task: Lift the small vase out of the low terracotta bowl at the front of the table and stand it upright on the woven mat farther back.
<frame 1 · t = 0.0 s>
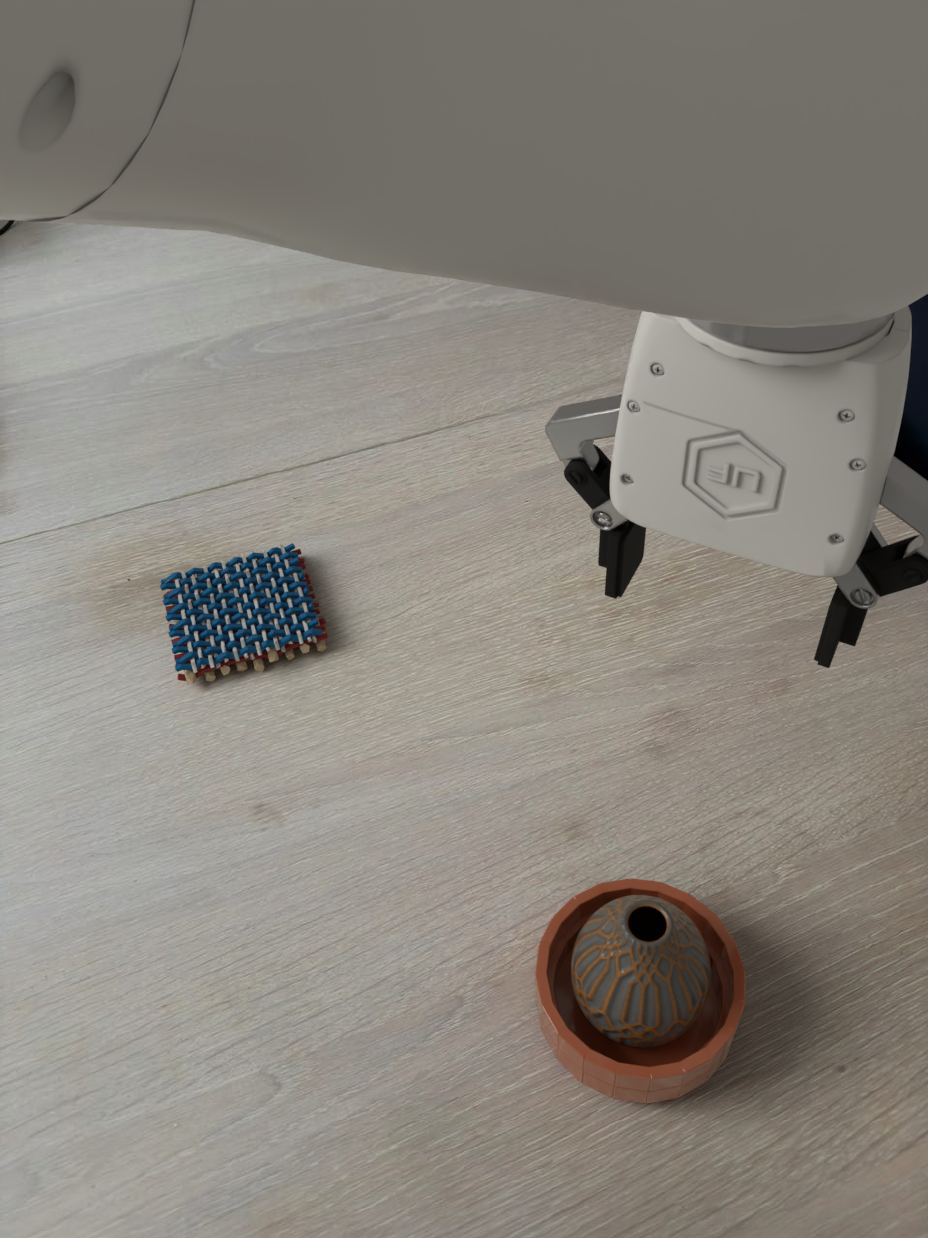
hand: (723, 609, 50), 20 cm above the table, tool pointing down, fingers open, 9 cm apart
woven mat: (246, 622, 78), on the table
vase: (635, 1001, 58), resting on bowl
bowl: (634, 1004, 58), on the table
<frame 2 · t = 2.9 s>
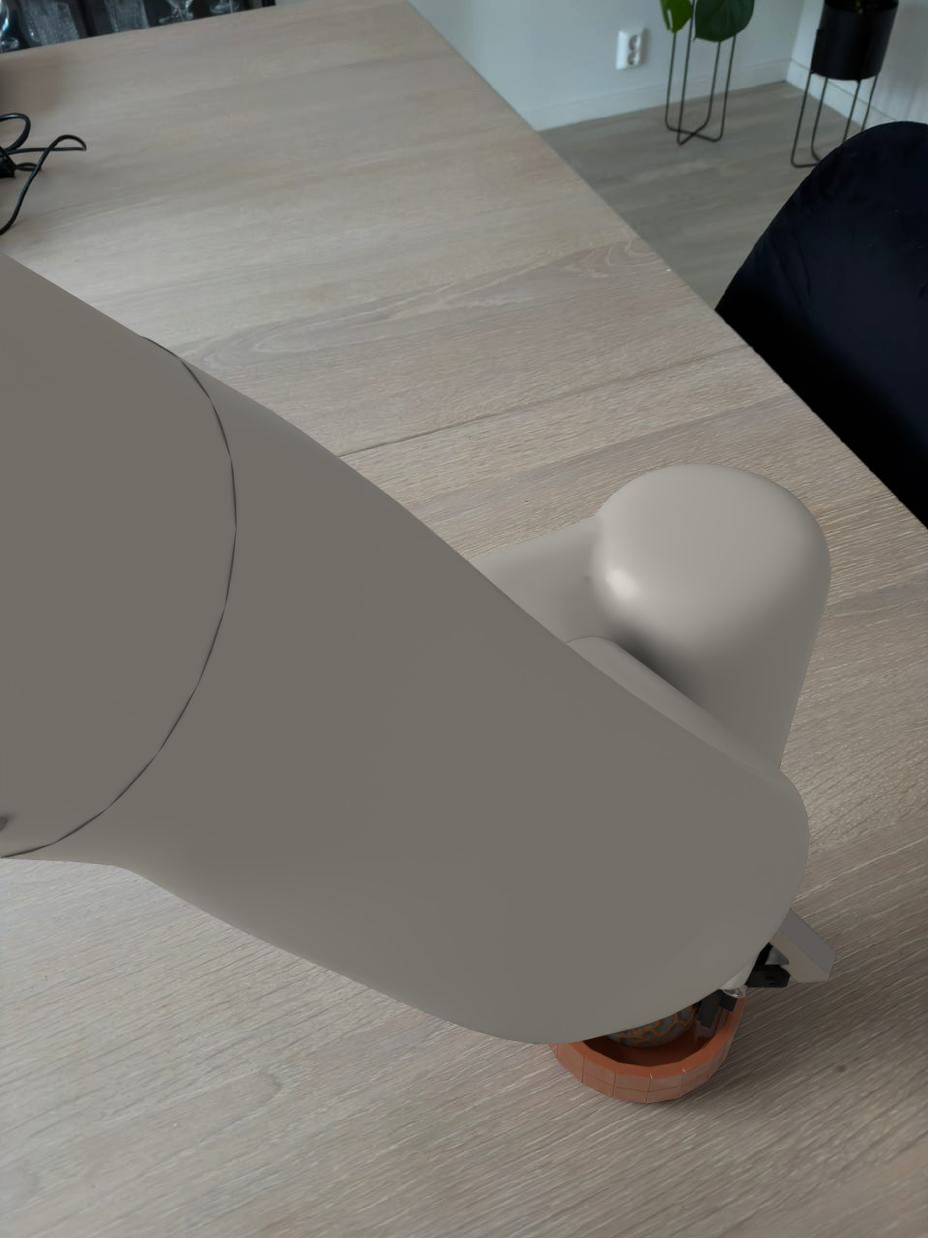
hand: (641, 965, 54), 5 cm above the table, tool pointing down, fingers closed on vase, 6 cm apart
vase: (635, 1001, 58), resting on bowl, touching gripper
everything else where it was.
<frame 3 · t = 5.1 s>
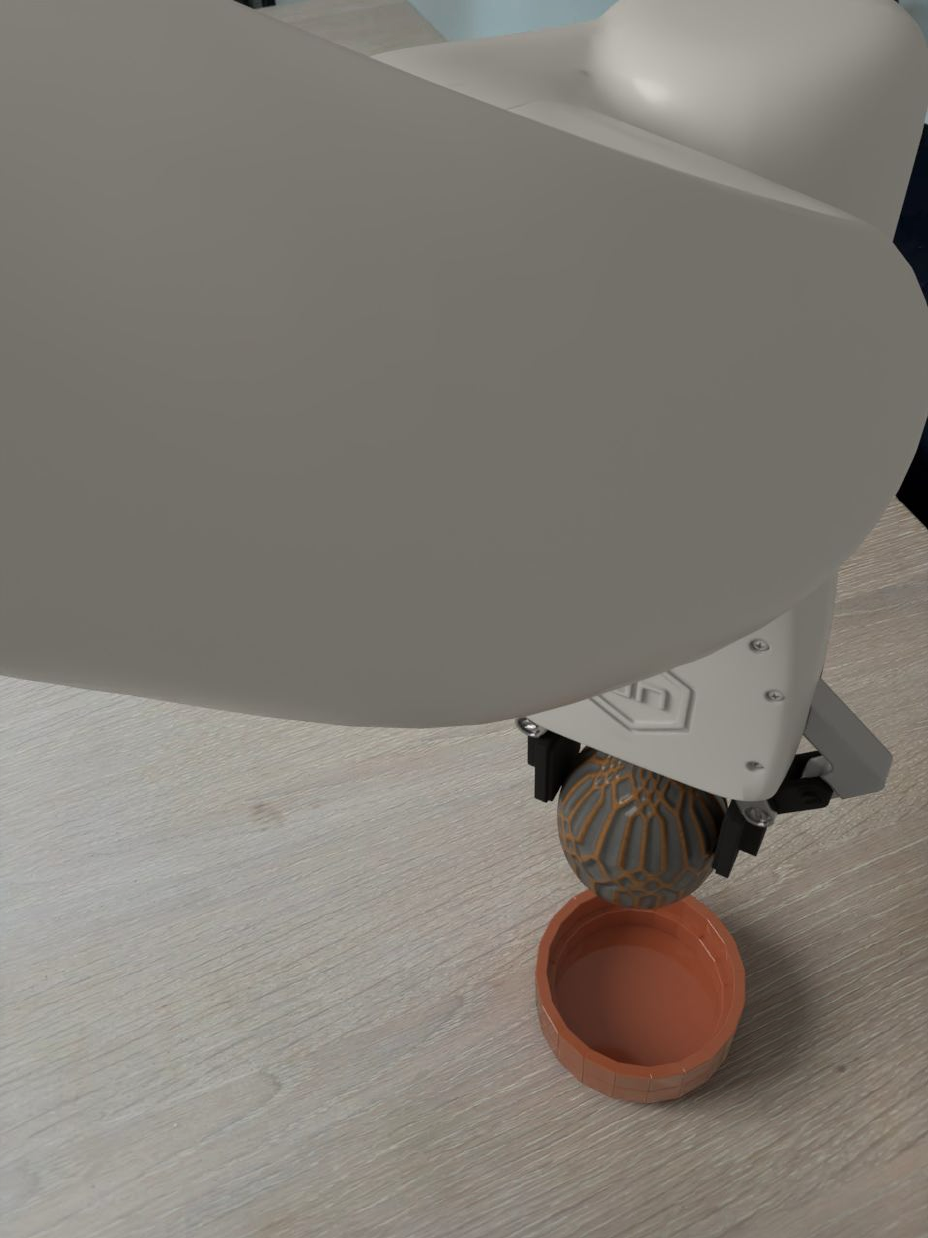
hand: (642, 808, 44), 19 cm above the table, tool pointing down, fingers closed on vase, 6 cm apart
vase: (634, 863, 48), point 14 cm above the table, touching gripper
everything else where it was.
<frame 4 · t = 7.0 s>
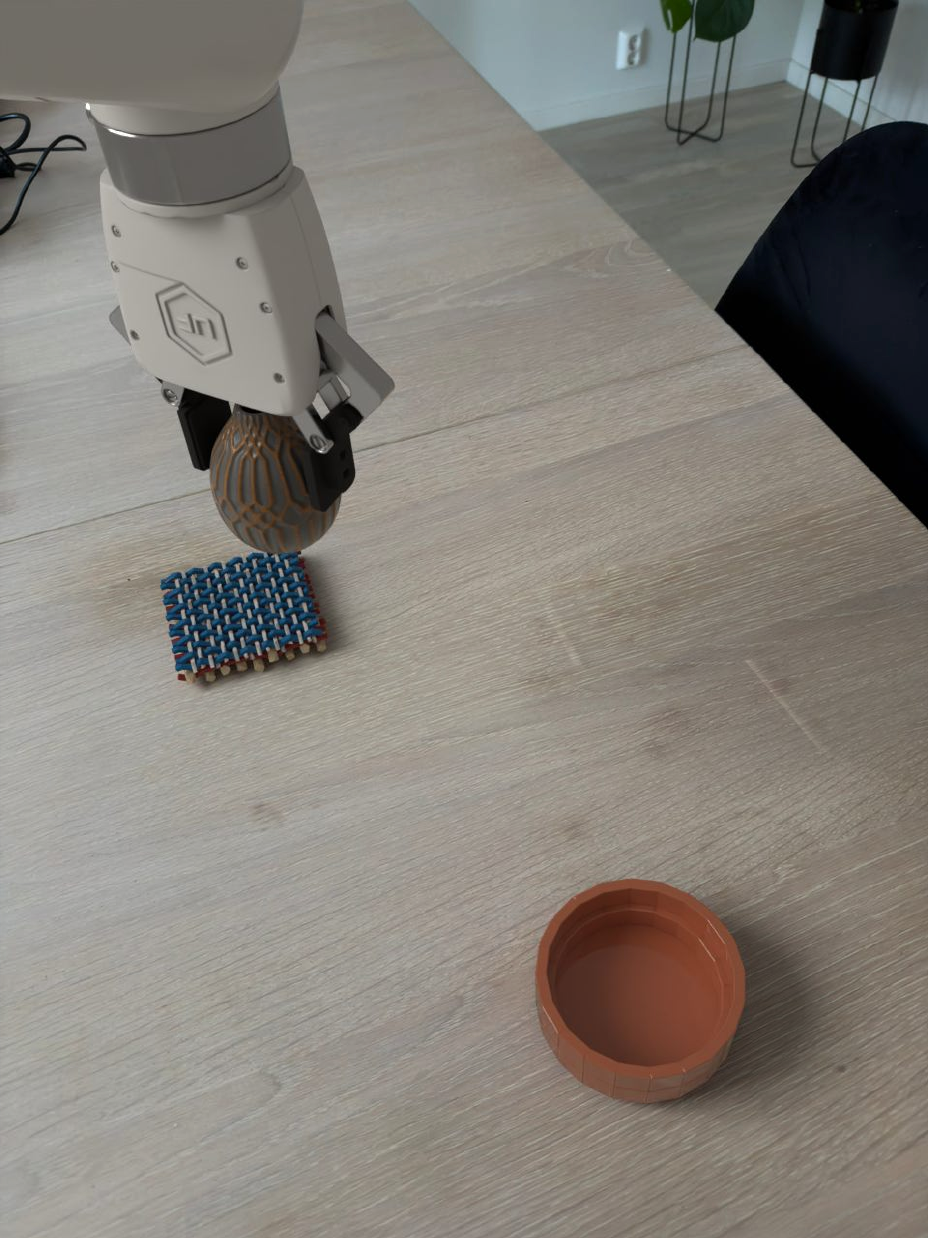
hand: (273, 472, 58), 20 cm above the table, tool pointing down, fingers closed on vase, 6 cm apart
vase: (288, 532, 61), point 15 cm above the table, touching gripper
everything else where it was.
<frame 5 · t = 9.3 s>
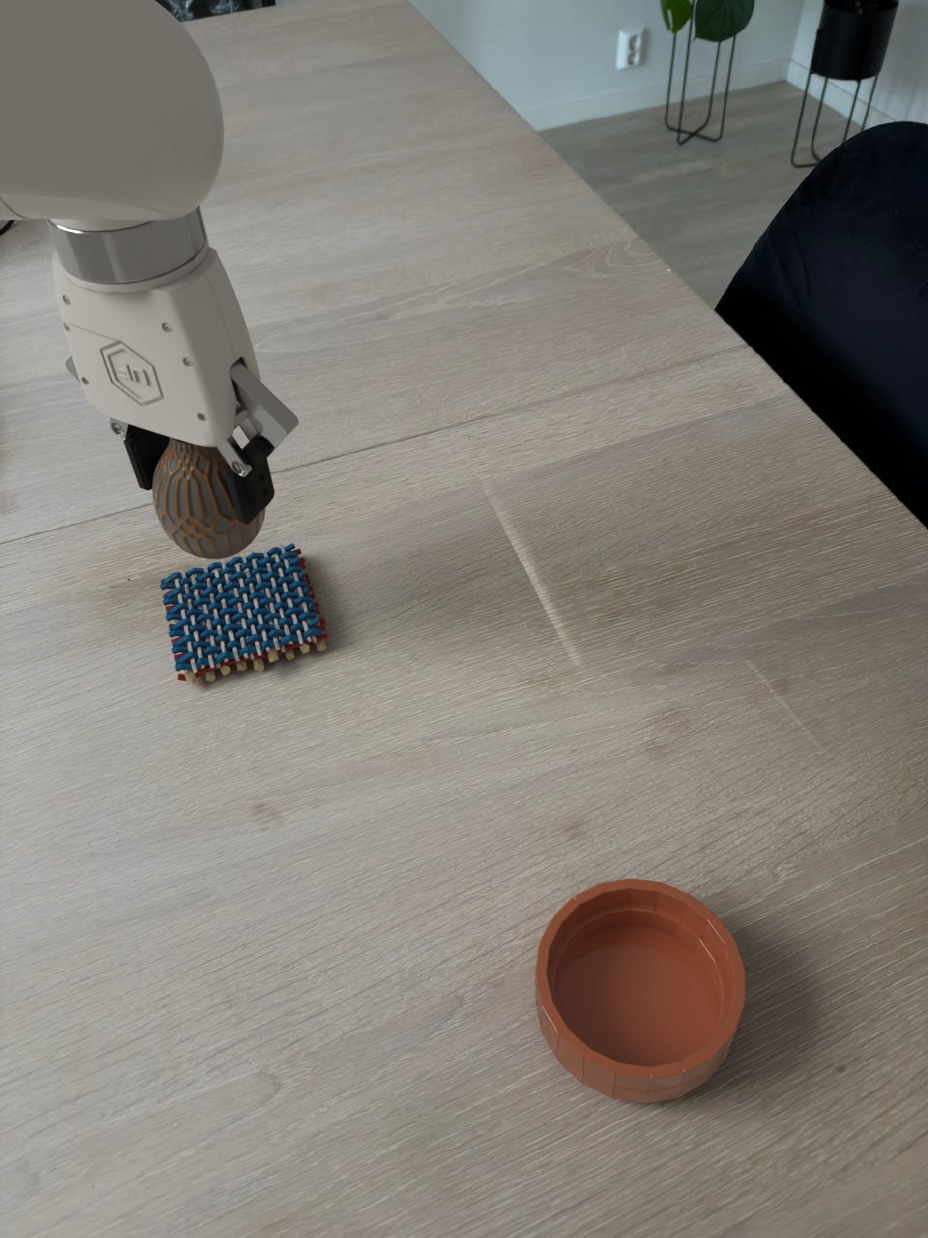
hand: (207, 491, 69), 12 cm above the table, tool pointing down, fingers closed on vase, 6 cm apart
vase: (222, 540, 72), point 8 cm above the table, touching gripper
everything else where it was.
when the fingers open (6 cm above the table, at t = 11.2 s): vase stays where it is, resting on woven mat.
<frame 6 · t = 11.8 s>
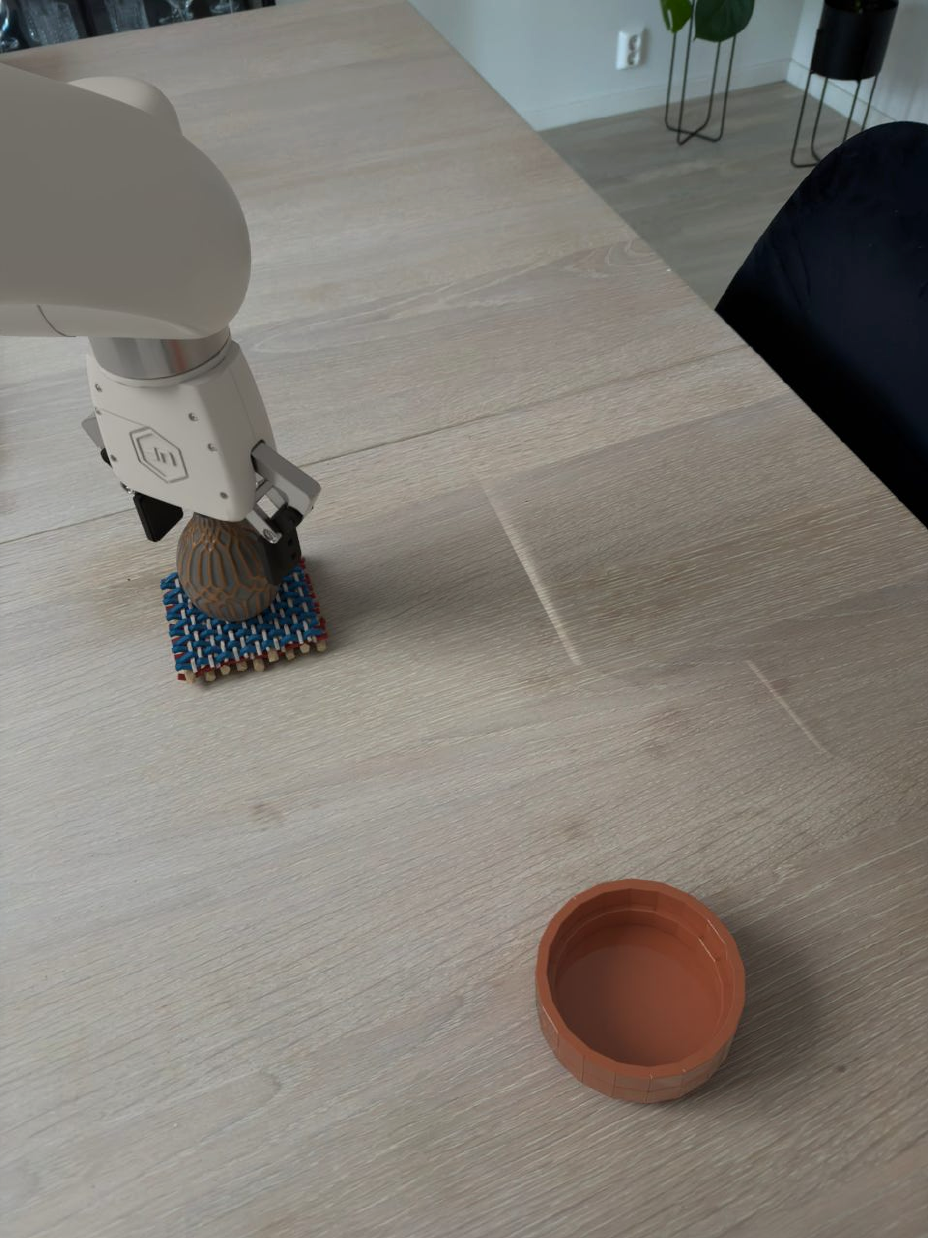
hand: (224, 549, 73), 7 cm above the table, tool pointing down, fingers open, 9 cm apart
woven mat: (246, 622, 78), on the table, touching vase
vase: (241, 602, 77), point 2 cm above the table, touching woven mat
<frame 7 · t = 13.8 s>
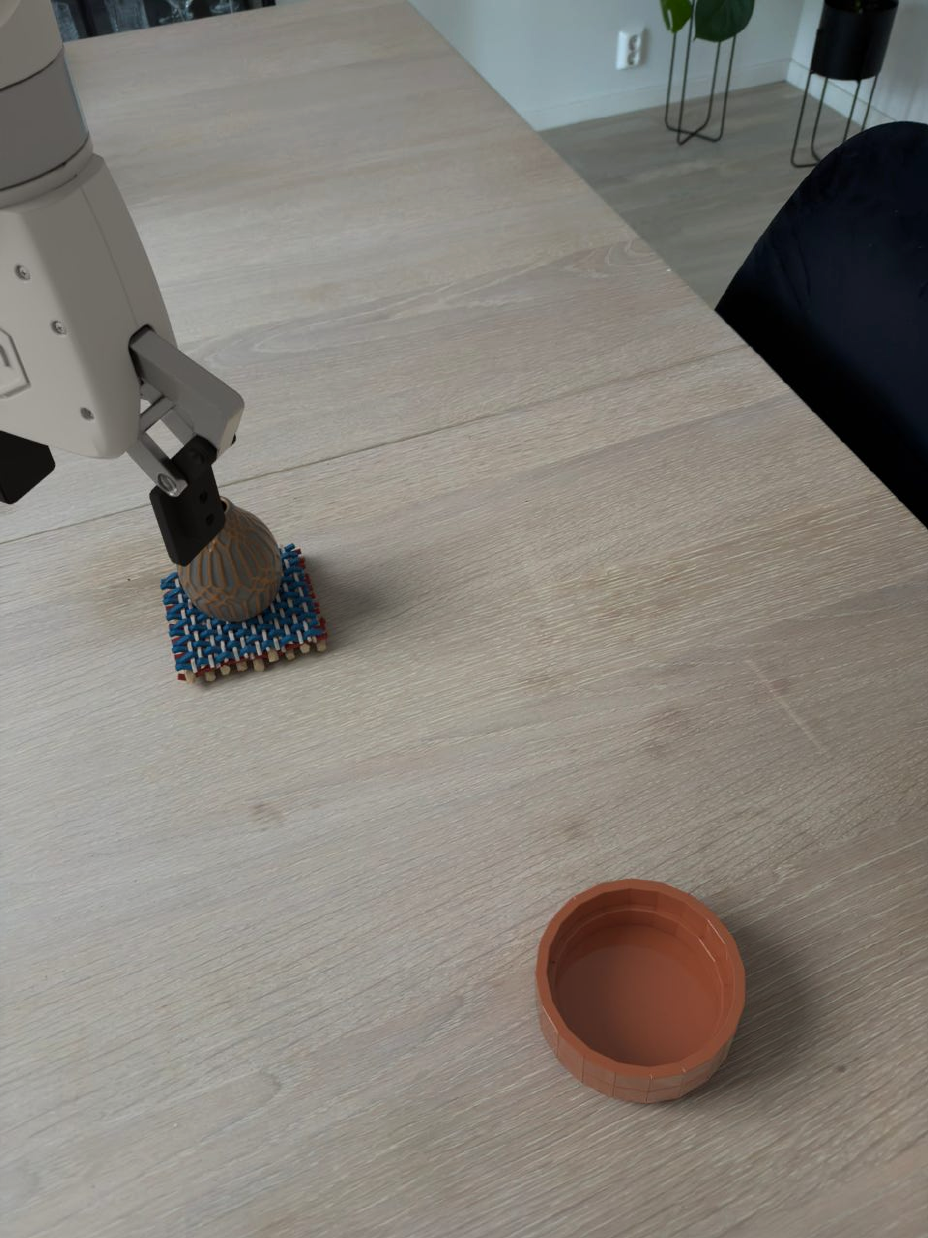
hand: (111, 514, 48), 25 cm above the table, tool pointing down, fingers open, 9 cm apart
nothing on the table moved.
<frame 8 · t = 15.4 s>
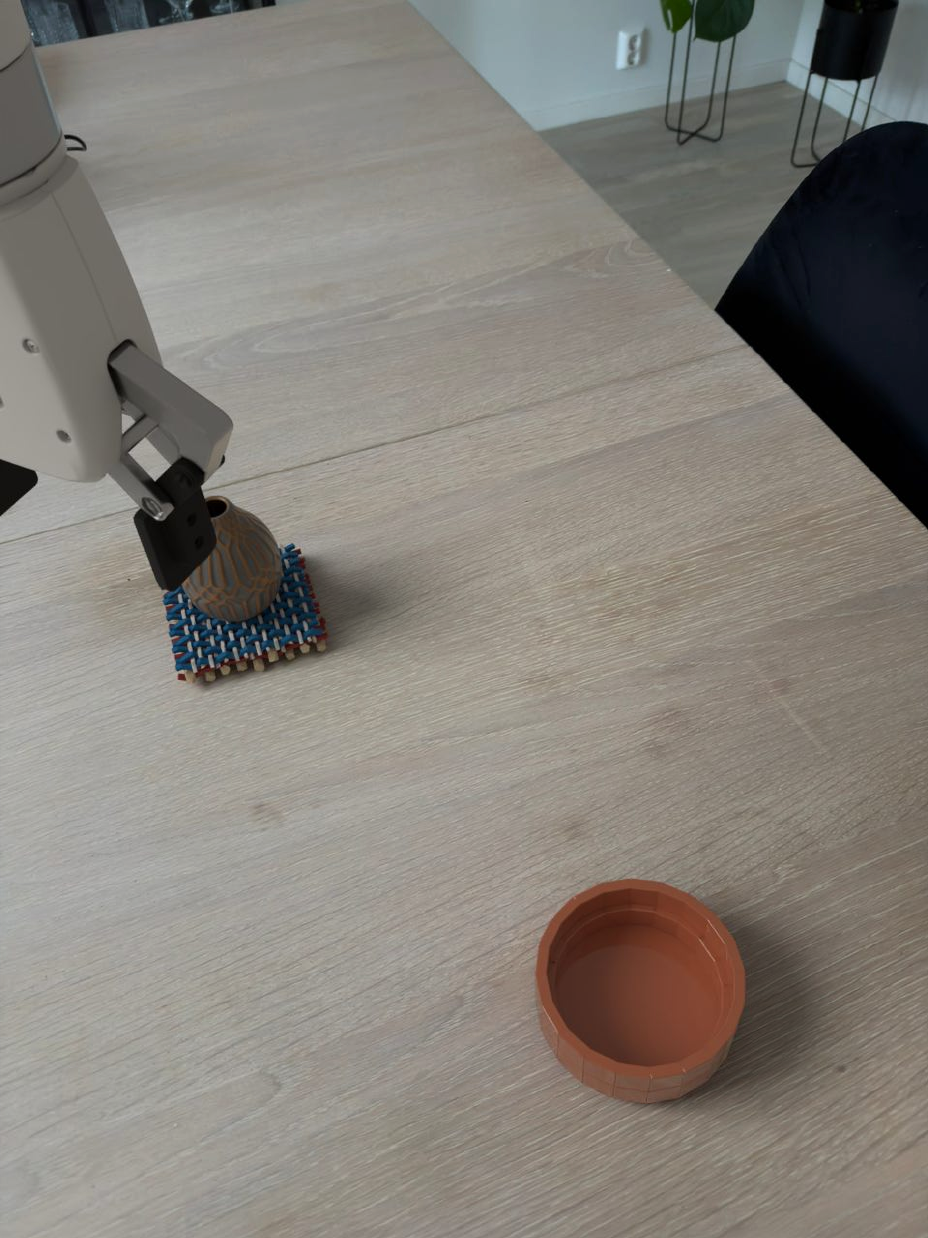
hand: (96, 533, 46), 26 cm above the table, tool pointing down, fingers open, 9 cm apart
nothing on the table moved.
at the end: vase inside the target area on the woven mat (0.0 cm from its centre), point 2.0 cm above the woven mat's base; vase tilted 0°; vase touching woven mat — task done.
